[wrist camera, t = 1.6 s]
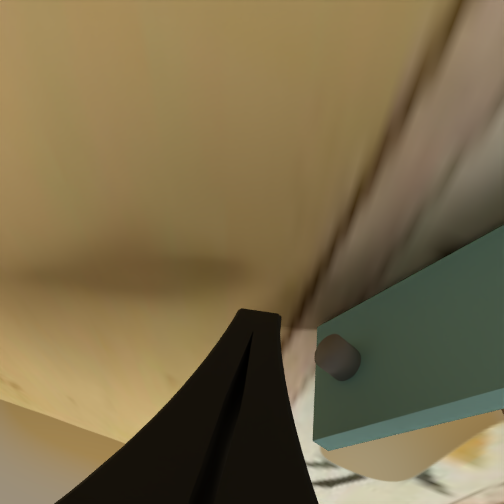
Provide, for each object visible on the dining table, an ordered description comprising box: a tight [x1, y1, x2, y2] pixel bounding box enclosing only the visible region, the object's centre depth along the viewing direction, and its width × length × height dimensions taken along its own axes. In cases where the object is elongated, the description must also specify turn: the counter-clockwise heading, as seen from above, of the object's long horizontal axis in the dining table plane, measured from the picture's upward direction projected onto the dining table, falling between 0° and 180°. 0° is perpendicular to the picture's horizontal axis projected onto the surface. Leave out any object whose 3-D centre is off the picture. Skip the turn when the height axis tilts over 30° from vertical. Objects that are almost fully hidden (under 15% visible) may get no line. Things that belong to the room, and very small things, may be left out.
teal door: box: [313, 225, 504, 451], centre depth 9 cm, size 2×13×5 cm, turn 140°
